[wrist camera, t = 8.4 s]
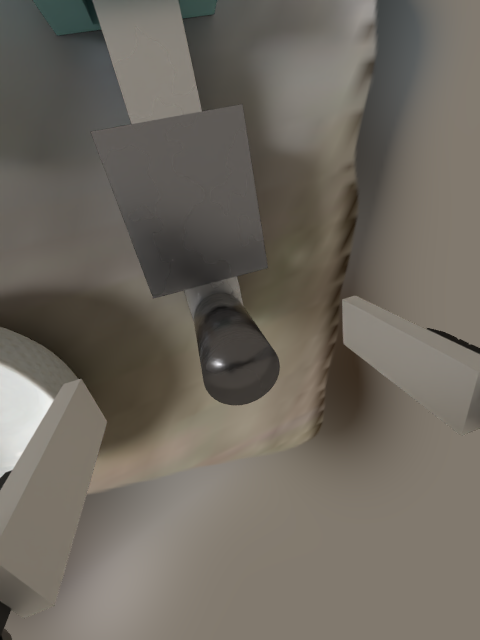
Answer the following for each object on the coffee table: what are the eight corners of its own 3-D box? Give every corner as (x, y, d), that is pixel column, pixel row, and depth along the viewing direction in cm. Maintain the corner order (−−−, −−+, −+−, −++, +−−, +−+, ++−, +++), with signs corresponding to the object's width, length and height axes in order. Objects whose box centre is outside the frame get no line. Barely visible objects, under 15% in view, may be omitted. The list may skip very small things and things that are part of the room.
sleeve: (159, 273, 20) (153, 298, 15) (118, 157, 17) (90, 131, 11) (243, 252, 21) (267, 267, 16) (221, 137, 18) (242, 104, 12)
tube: (197, 326, 22) (214, 414, 12) (64, -105, 12) (-349, -1264, 3) (238, 314, 22) (284, 391, 13) (142, -110, 12) (36, -1123, 3)
